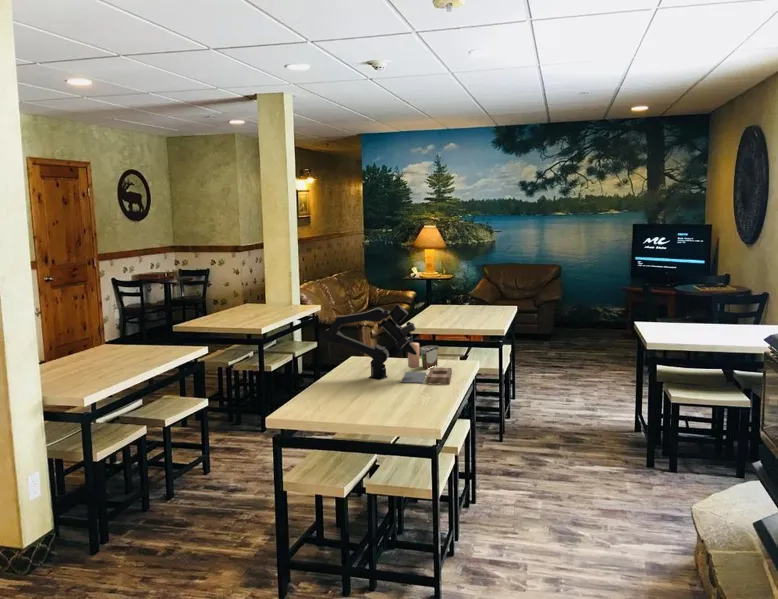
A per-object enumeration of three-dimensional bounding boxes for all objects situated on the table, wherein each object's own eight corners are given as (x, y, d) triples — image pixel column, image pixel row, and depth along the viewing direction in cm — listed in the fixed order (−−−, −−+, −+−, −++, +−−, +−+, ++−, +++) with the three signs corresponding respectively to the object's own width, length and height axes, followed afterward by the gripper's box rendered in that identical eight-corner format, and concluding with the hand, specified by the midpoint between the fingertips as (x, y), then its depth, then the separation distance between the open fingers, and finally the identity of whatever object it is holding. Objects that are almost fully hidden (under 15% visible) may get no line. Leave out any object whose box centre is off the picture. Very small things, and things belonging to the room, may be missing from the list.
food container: (428, 363, 336) (428, 344, 335) (438, 365, 333) (438, 345, 331) (415, 368, 326) (414, 348, 325) (425, 370, 323) (425, 350, 321)
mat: (401, 383, 300) (401, 381, 300) (405, 373, 318) (405, 371, 318) (423, 383, 298) (423, 382, 298) (426, 373, 316) (426, 372, 316)
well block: (427, 383, 298) (427, 377, 298) (430, 373, 316) (430, 367, 315) (449, 384, 297) (449, 377, 296) (451, 374, 314) (451, 367, 314)
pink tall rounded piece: (405, 367, 307) (405, 343, 305) (412, 364, 311) (412, 342, 309) (414, 368, 304) (414, 345, 302) (421, 366, 308) (421, 343, 306)
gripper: (402, 320, 296) (427, 345, 295) (407, 314, 314) (430, 337, 314) (385, 337, 298) (409, 362, 298) (391, 330, 316) (414, 353, 316)
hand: (416, 353), depth 306 cm, fingers closed on pink tall rounded piece, 5 cm apart
